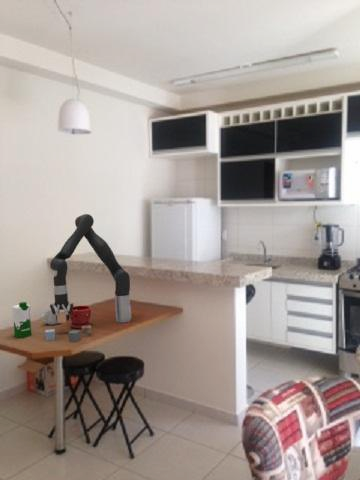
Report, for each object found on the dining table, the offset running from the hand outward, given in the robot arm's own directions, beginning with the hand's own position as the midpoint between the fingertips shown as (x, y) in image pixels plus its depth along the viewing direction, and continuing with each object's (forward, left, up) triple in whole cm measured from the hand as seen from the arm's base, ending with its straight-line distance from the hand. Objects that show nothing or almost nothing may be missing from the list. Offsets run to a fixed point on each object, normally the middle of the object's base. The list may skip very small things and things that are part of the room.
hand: (63, 320), depth 252 cm
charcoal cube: (-10, +13, -8) cm, 18 cm away
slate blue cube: (+5, +10, -8) cm, 13 cm away
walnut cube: (-15, +4, -8) cm, 17 cm away
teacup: (+15, -20, -8) cm, 26 cm away
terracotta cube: (0, 0, -1) cm, 1 cm away
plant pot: (-6, -14, -8) cm, 18 cm away
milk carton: (+24, +3, -8) cm, 25 cm away
